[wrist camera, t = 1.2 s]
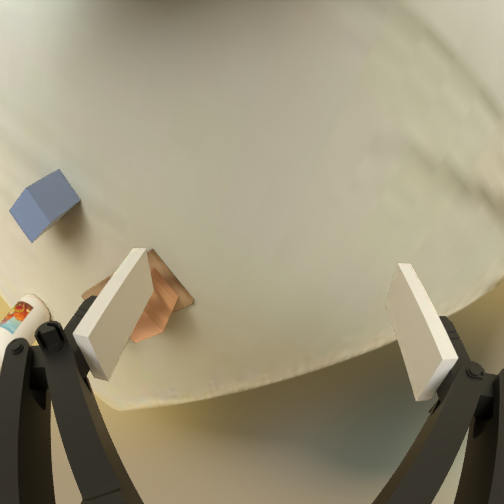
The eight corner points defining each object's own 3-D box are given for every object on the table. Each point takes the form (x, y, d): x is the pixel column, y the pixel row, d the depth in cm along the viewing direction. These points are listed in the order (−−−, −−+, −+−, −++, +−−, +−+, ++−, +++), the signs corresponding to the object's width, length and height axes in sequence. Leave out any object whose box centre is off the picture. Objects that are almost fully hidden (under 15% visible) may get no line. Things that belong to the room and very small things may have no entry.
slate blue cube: (40, 190, 40) (9, 210, 33) (59, 169, 38) (25, 187, 31) (60, 219, 42) (31, 243, 36) (80, 199, 40) (50, 222, 34)
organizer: (83, 292, 49) (58, 326, 41) (152, 248, 43) (127, 286, 36) (120, 332, 53) (101, 368, 45) (194, 299, 47) (178, 341, 39)
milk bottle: (52, 306, 52) (-1, 379, 35) (50, 327, 56) (4, 396, 39) (23, 286, 51) (-33, 353, 34) (23, 309, 54) (-26, 372, 37)
